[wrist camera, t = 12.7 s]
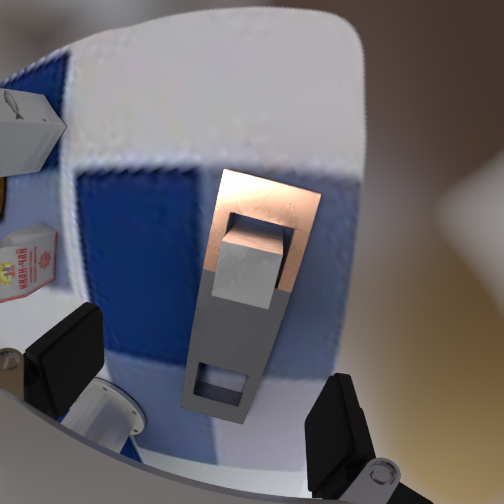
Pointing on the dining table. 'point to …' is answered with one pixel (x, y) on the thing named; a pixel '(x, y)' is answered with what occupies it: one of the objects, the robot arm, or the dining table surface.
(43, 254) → the white printed paper bag
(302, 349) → the dining table surface
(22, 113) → the supplement box
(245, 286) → the steel peg
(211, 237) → the rail
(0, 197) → the croissant
